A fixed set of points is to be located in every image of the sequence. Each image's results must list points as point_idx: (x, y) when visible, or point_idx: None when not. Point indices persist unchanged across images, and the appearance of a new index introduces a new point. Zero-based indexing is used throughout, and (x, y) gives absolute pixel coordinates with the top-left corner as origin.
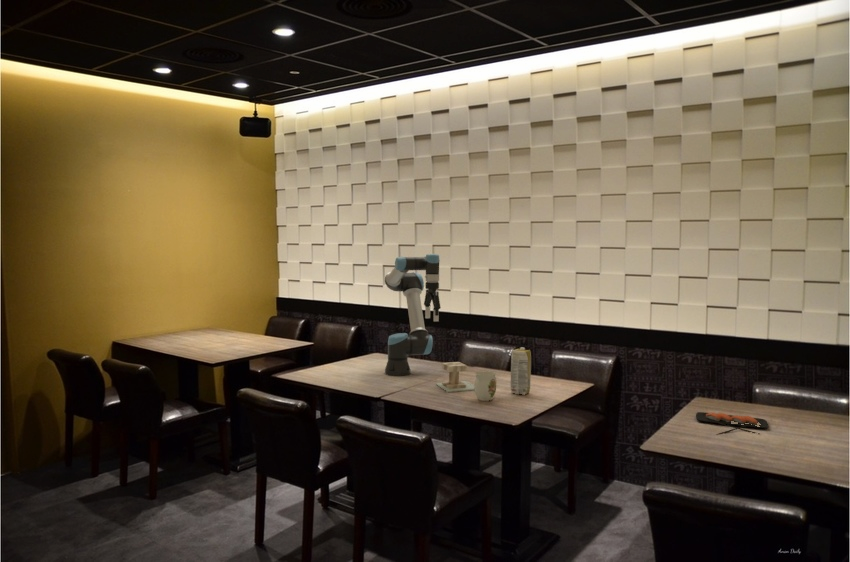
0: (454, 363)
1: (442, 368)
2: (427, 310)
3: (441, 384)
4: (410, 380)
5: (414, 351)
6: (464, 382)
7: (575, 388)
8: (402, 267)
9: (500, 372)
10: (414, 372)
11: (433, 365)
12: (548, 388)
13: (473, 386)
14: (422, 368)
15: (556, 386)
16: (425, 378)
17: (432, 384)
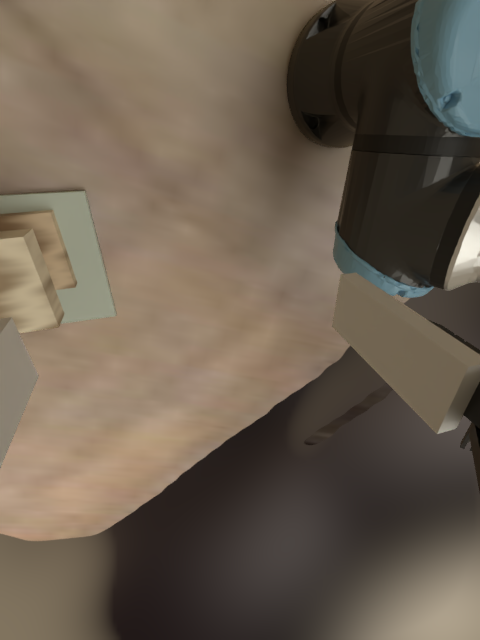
0: (7, 297)
1: (26, 229)
2: (405, 353)
3: (57, 209)
4: (187, 92)
5: (349, 165)
6: (92, 306)
7: (24, 533)
8: None
9: (234, 420)
10: (325, 168)
11: None
12: (21, 492)
13: None
14: None
15: (48, 506)
16: (211, 181)
17: (92, 176)
